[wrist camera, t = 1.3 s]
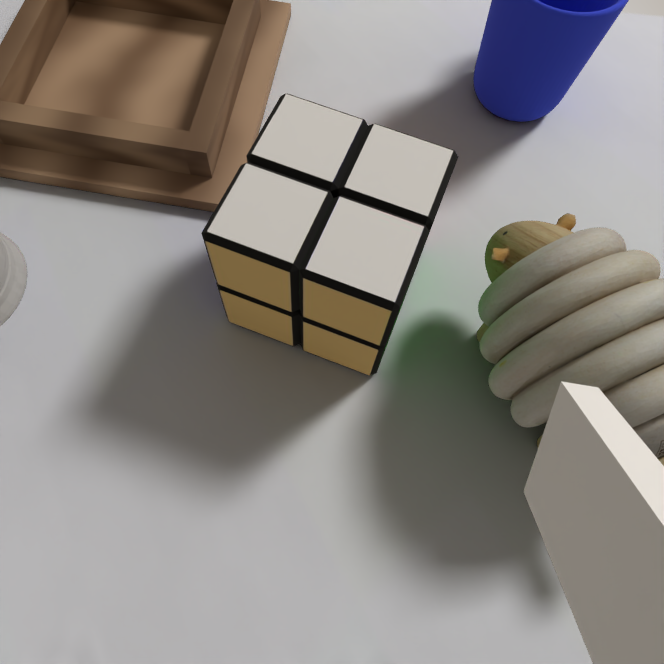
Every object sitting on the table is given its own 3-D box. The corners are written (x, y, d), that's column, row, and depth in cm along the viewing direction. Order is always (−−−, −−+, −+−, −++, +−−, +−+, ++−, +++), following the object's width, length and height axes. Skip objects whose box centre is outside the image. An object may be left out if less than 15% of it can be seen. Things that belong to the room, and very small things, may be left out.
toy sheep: (534, 247, 38) (618, 130, 28) (699, 469, 33) (880, 425, 23) (402, 308, 36) (442, 205, 26) (556, 558, 30) (685, 555, 20)
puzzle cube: (287, 200, 39) (282, 87, 30) (423, 249, 38) (462, 147, 29) (224, 321, 35) (196, 235, 26) (373, 379, 34) (400, 310, 25)
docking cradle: (290, 14, 46) (290, -27, 43) (236, 215, 38) (229, 183, 35) (53, -23, 46) (34, -68, 43) (-50, 168, 38) (-82, 132, 35)
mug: (583, 44, 46) (654, -86, 37) (552, 149, 42) (623, 31, 32) (489, 14, 47) (534, -120, 38) (447, 114, 42) (488, -10, 33)
